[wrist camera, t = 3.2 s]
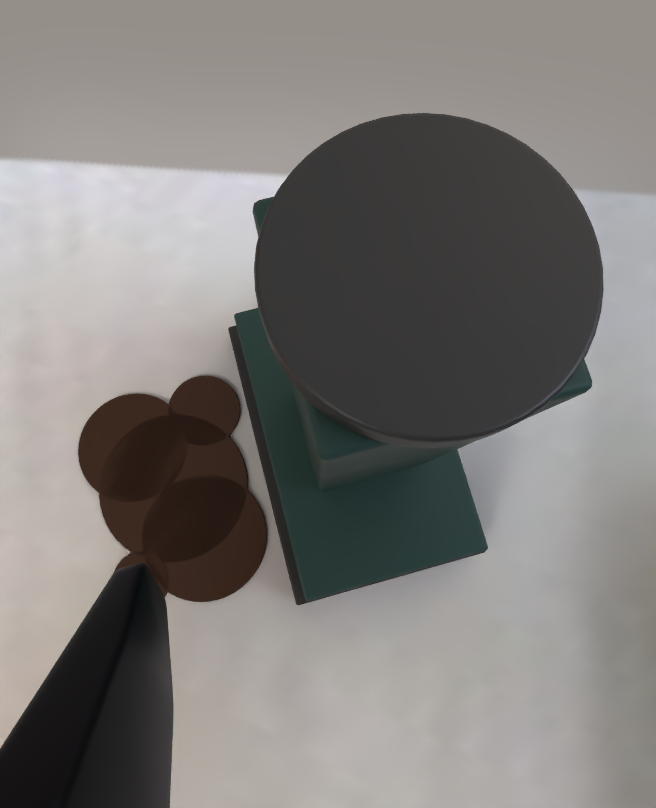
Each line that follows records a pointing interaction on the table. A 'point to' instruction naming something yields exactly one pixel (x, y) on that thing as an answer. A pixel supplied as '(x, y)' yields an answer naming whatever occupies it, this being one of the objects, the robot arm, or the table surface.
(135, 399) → the coffee spill
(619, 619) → the table surface
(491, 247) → the wiper
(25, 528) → the table surface
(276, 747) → the table surface
